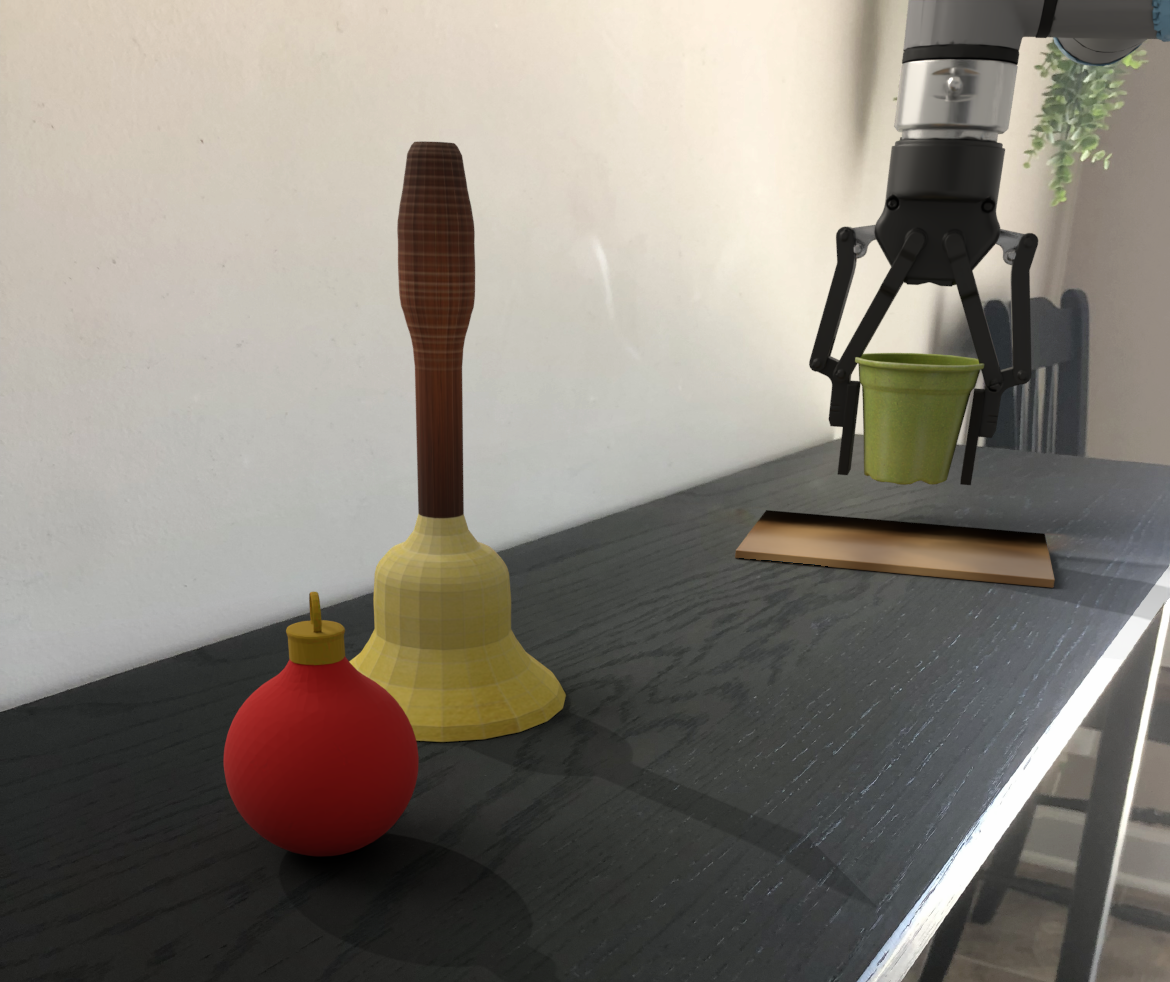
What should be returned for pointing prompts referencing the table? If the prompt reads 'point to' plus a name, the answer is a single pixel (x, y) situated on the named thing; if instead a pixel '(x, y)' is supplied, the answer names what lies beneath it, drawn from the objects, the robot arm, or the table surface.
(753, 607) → the table surface
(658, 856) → the table surface
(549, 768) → the table surface
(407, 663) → the handbell
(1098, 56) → the robot arm
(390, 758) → the christmas ornament
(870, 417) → the plant pot
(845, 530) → the wooden board
